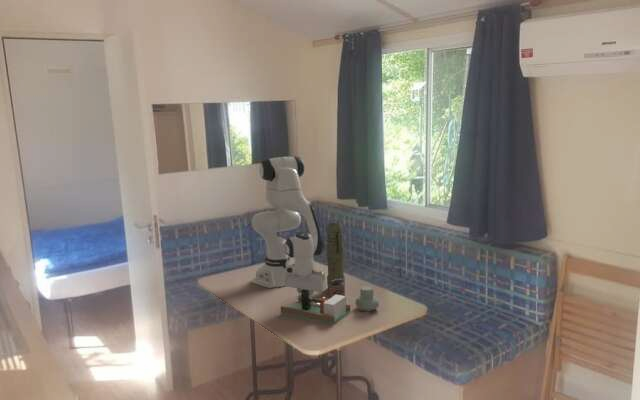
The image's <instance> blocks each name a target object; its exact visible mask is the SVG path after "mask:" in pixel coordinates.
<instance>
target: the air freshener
mask: <svg viewBox="0 0 640 400" xmlns="http://www.w3.org/2000/svg"><path fill="white" fill-rule="evenodd" d="M359 293H360V295H359V296H357V298H356V299H355V305H356V308H357V309H358V310H360V311H361V312H373V311H375V310H376V309H378V307H379V306H380V305H379V304H380V303H379V300H378V299H377V297H376V296H374V287H372V286H369V285H366V286H361V287H360V289H359Z"/></svg>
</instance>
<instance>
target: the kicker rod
mask: <svg viewBox="0 0 640 400" xmlns="http://www.w3.org/2000/svg"><path fill="white" fill-rule="evenodd" d="M309 294H310V292H309V290H304V289H301V303H302V309H304V310H308V309H310V308H311V306H316V307H320V313H321V314H324V305H323V303H324V302H326V300H327V299H326V297H325V296H322V297H320V298H319V299H320V300H321V302H322V303H321V304H320V303H314V302H311V300H310V299H307V298H308V297H307V296H308V295H309Z"/></svg>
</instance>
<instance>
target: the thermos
mask: <svg viewBox="0 0 640 400" xmlns="http://www.w3.org/2000/svg"><path fill="white" fill-rule="evenodd" d="M326 238H327V240H326V241H327V243H326V244H325V246H326V247H325V250H326V252H325V253H326V257H327V258H326V259H327V276H326V286H327V291H328V292H329V285H330V284H331V280H334V279H337V280H338V279H343V280H344V282H341V283H345V284H346V282H345V281H346V276H345V274H344V257H345V246H344V242H343V226H342V223H341V221H338V220H331V221H329V222H328V223H327V227H326ZM338 283H339V282H338Z"/></svg>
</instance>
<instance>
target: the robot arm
mask: <svg viewBox="0 0 640 400" xmlns="http://www.w3.org/2000/svg"><path fill="white" fill-rule="evenodd" d="M258 168H259V169H258V171H259V174H260V178H261V179H263V180H264V181H265V200H266V202H267V204H269V205H270V206H273V207H275V208H277V209H276V210H269V211H261V212H258V213H255V214H254V215H253V217H252V219H251V225H252V229H253V230H254V231H255V232H256V233H257V234H259V235H260V236H261V237H262V238H263V239H264V241H265V244H266V250H267V256H266V257H265V258H264V259H263V261H264V264H263V265H262V266H260V267H259V268H258V269H256V271H255V277H253V278H252V279H251V282H250V283H251V284H253V285H257V286H261V287H264V288H269V289H271V288H272V289H273V288H279V287H280V288H281V287H287V288H294V289H296V292H297V294H298V296H299V298H301V290H302V289H304V290H309V292H310V294H309V295H308V296H307V297H308V298H307V299H310V300H311V299H312V298H313V294H314V293H315V292H318V293H323V292H325V291H326V290H327V281H326V273H324V272H323V271H321V270H315V260H314V257H315V256H316V257H317V256H320V255H321V254H322V253H323V252H324V251H325V250H326V247H325V246H326V244H325V240H324V237H323V235H322V233H321V230H320V228H319V224H318V221H317V217H316V215H315V212H314V211H315V210H314V209H313V206H312V203H311V201H310V200H307V199H306V198H305V196H304V194H303V190H302V184H301V181H300V177H302V176H303V175H304V172H305V163H304V160H303V159H302V158H301V157H300V156H281V157H280V156H278V157H272V158H265V159H262V160H261V161H260V163H259V167H258ZM301 216H303V217H304V219H305V221H306V225H307V227H308V231H309V232H305V231H301V232H300V231H299V232H296V233H295V234H294V236H292V237H288V238H287V239H285V238H284V237H280V236H278V235H277V233H278V232H285V231H286V232H287V231H291V230H295V229H298V228H299V227H300V225H301V223H302V217H301ZM292 258H293V259H294V263H293V264H291V260H290V259H292Z"/></svg>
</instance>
